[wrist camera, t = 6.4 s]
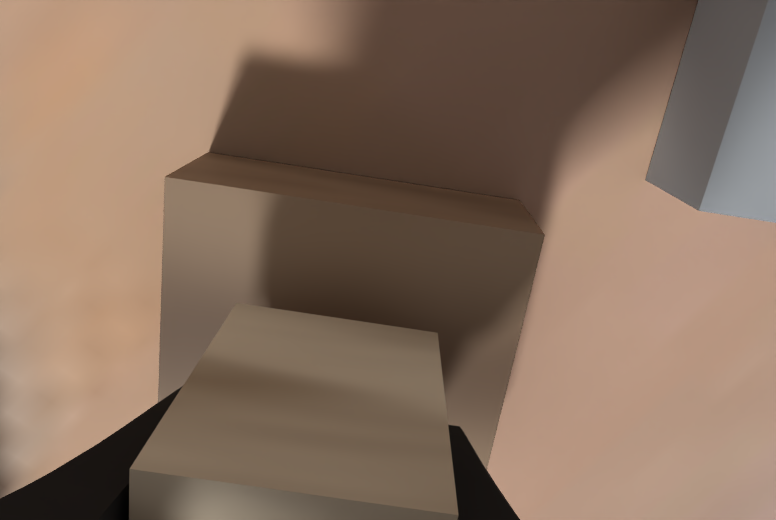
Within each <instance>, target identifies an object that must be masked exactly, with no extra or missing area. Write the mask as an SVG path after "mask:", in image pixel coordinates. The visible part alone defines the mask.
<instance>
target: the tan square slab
mask: <svg viewBox="0 0 776 520" xmlns="http://www.w3.org/2000/svg"><path fill="white" fill-rule="evenodd" d="M544 236H545V234H544V233H543V232H542V230H541V229H540V228H539V226H538V225H537V224H536V222H535V221H534V219H533V218H532V217H531V215H530V214H529V213H528V211H527V210H526V208H525V207H524V206H523V204H522V203H521V202H520V200H514V199H508V198H501V197H495V196H488V195H482V194H475V193H469V192H462V191H456V190H449V189H443V188H436V187H430V186H423V185H417V184H410V183H404V182H397V181H391V180H384V179H378V178H372V177H365V176H359V175H352V174H346V173H339V172H333V171H326V170H320V169H313V168H307V167H300V166H294V165H287V164H281V163H274V162H268V161H261V160H255V159H248V158H242V157H235V156H229V155H222V154H216V153H209V152H208V153H206V154H204V155H203V156H201V157H199V158H197V159H195V160H194V161H192V162H190V163H188V164H187V165H185V166H183V167H181V168H180V169H178V170H176V171H174V172H172V173H171V174H169V175H167V176H165V188H164V222H163V255H162V289H161V322H160V355H159V389H158V402H160V401H161V400H163V399H164V398H166V397H167V396H169V395H170V394H171V393H173V392H174V391H176V390H177V389H179V388H180V387H182V386H183V385H184V383H185V382H186V380H187V379H188V377H189V376H190V374H191V373H192V371H193V369H194V368H195V366H196V365H197V363H198V362H199V360H200V359H201V357H202V356H203V354H204V352H205V351H206V349H207V348H208V346H209V345H210V343H211V342H212V340H213V338H214V337H215V335H216V334H217V332H218V331H219V329H220V328H221V326H222V324H223V323H224V321H225V320H226V318H227V317H228V315H229V314H230V312H231V310H232V309H233V307H234V306H235V304H236V303H241V304H247V305H254V306H261V307H268V308H274V309H281V310H288V311H295V312H301V313H308V314H315V315H321V316H328V317H335V318H342V319H348V320H355V321H362V322H369V323H375V324H382V325H389V326H395V327H402V328H409V329H416V330H422V331H429V332H436V333H438V340H439V349H440V358H441V367H442V375H443V384H444V393H445V401H446V410H447V419H448V425H454V426H460V427H461V429H462V430H463V431H464V433H465V435H466V436H467V438H468V440H469V441H470V443H471V445H472V447H473V448H474V450H475V452H476V453H477V455H478V457H479V458H480V460H481V462H482V463H483V465H484V467H485V468H486V470H487V466H488V462H489V458H490V454H491V450H492V446H493V442H494V438H495V434H496V430H497V426H498V422H499V418H500V414H501V410H502V406H503V402H504V398H505V394H506V389H507V385H508V381H509V377H510V373H511V369H512V365H513V361H514V357H515V353H516V349H517V345H518V341H519V337H520V333H521V329H522V325H523V321H524V317H525V313H526V309H527V304H528V300H529V296H530V292H531V288H532V284H533V280H534V276H535V272H536V268H537V264H538V260H539V256H540V252H541V248H542V244H543V240H544Z"/></svg>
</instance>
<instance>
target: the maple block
mask: <svg viewBox="0 0 776 520" xmlns="http://www.w3.org/2000/svg"><path fill="white" fill-rule="evenodd" d="M457 519H458V506H457V497H456V489H455V480H454V471H453V463H452V454H451V445H450V436H449V428H448V419H447V410H446V401H445V393H444V384H443V375H442V367H441V358H440V349H439V340H438V333H436V332H429V331H422V330H416V329H409V328H402V327H395V326H389V325H382V324H375V323H369V322H362V321H355V320H348V319H342V318H335V317H328V316H321V315H315V314H308V313H301V312H295V311H288V310H281V309H274V308H268V307H261V306H254V305H247V304H241V303H236V304H235V306H234V307H233V309H232V310H231V312H230V314H229V315H228V317H227V318H226V320H225V321H224V323H223V324H222V326H221V328H220V329H219V331H218V332H217V334H216V335H215V337H214V338H213V340H212V342H211V343H210V345H209V346H208V348H207V349H206V351H205V352H204V354H203V356H202V357H201V359H200V360H199V362H198V363H197V365H196V366H195V368H194V369H193V371H192V373H191V374H190V376H189V377H188V379H187V380H186V382H185V383H184V385H183V387H182V388H181V390H180V391H179V393H178V394H177V396H176V397H175V399H174V401H173V402H172V404H171V405H170V407H169V408H168V410H167V411H166V413H165V415H164V416H163V418H162V419H161V421H160V422H159V424H158V425H157V427H156V429H155V430H154V432H153V433H152V435H151V436H150V438H149V439H148V441H147V443H146V444H145V446H144V447H143V449H142V450H141V452H140V453H139V455H138V457H137V458H136V460H135V461H134V463H133V464H132V466H131V467H130V472H129V520H457Z"/></svg>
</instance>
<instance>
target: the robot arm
mask: <svg viewBox="0 0 776 520" xmlns="http://www.w3.org/2000/svg"><path fill="white" fill-rule="evenodd" d="M182 387H183V386H182ZM182 387H180V388H179V389H177V390H176V391H174V392H173V393H171V394H170V395H169V396H167V397H166V398H164V399H163V400H161V401H160V402H158V403H157V404H156V405H154V406H153V407H151V408H150V409H148V410H147V411H146V412H144V413H143V414H141V415H140V416H138V417H137V418H136V419H134V420H133V421H131V422H130V423H128V424H127V425H125V426H124V427H122V428H121V429H120V430H118V431H117V432H115V433H114V434H112V435H111V436H109V437H108V438H106V439H105V440H103V441H102V442H100V443H99V444H97V445H95V446H94V447H92V448H90V449H89V450H87V451H85V452H84V453H82V454H80V455H79V456H77V457H75V458H74V459H72V460H70V461H69V462H67V463H66V464H64V465H62V466H61V467H59V468H57V469H56V470H54V471H52V472H50V473H49V474H47V475H45V476H43V477H41V478H40V479H38V480H36V481H34V482H32V483H30V484H28V485H26V486H25V487H23V488H21V489H19V490H17V491H15V492H13V493H11V494H9V495H7V496H5V497H3V498H1V499H0V520H129V472H130V467H131V466H132V464H133V463H134V461H135V460H136V458H137V457H138V455H139V453H140V452H141V450H142V449H143V447H144V446H145V444H146V443H147V441H148V439H149V438H150V436H151V435H152V433H153V432H154V430H155V429H156V427H157V425H158V424H159V422H160V421H161V419H162V418H163V416H164V415H165V413H166V411H167V410H168V408H169V407H170V405H171V404H172V402H173V401H174V399H175V397H176V396H177V394H178V393H179V391H180V390H181V388H182ZM448 428H449V436H450V445H451V454H452V463H453V471H454V480H455V489H456V497H457V506H458V519H457V520H520V519H519V518H518V516H517V515H516V513H515V512H514V511H513V509H512V508H511V506H510V505H509V503H508V502H507V500H506V499H505V497H504V496H503V494H502V493H501V491H500V490H499V489H498V487H497V486H496V484H495V482H494V481H493V479H492V478H491V476H490V475H489V473H488V471H487V470H486V468H485V467H484V465H483V463H482V462H481V460H480V458H479V457H478V455H477V453H476V452H475V450H474V448H473V447H472V445H471V443H470V441H469V440H468V438H467V436H466V435H465V433H464V431H463V430H462V429H461V427H460V426H454V425H448Z"/></svg>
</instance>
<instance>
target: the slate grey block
mask: <svg viewBox="0 0 776 520" xmlns="http://www.w3.org/2000/svg"><path fill="white" fill-rule="evenodd" d="M646 181H648V182H650V183H651V184H653V185H655V186H657V187H658V188H660V189H662V190H664V191H665V192H667V193H669V194H671V195H672V196H674V197H676V198H678V199H679V200H681V201H683V202H684V203H686V204H688V205H690V206H691V207H693V208H695V209H697V210H698V211H704V212H710V213H717V214H723V215H729V216H736V217H742V218H749V219H755V220H762V221H768V222H775V223H776V0H698V3H697V7H696V10H695V14H694V17H693V20H692V24H691V27H690V31H689V34H688V37H687V41H686V44H685V47H684V51H683V54H682V58H681V61H680V64H679V68H678V71H677V75H676V78H675V81H674V85H673V88H672V92H671V95H670V98H669V102H668V105H667V108H666V112H665V115H664V119H663V122H662V125H661V129H660V132H659V136H658V139H657V142H656V146H655V149H654V153H653V156H652V159H651V163H650V166H649V169H648V173H647V176H646Z"/></svg>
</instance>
